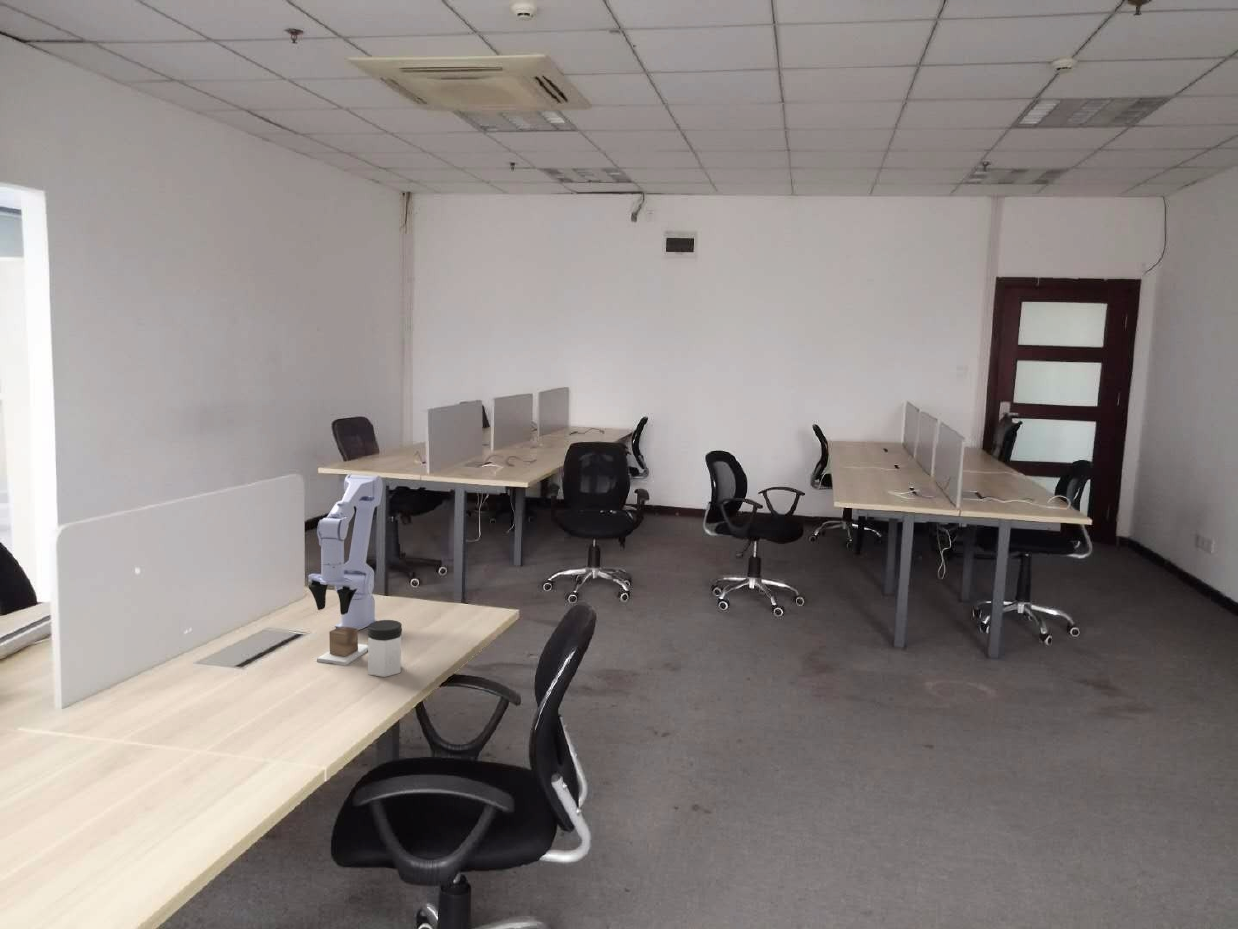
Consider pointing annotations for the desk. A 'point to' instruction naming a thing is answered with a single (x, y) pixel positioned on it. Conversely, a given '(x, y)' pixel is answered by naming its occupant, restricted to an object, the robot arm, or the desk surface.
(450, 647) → the desk surface
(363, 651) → the external hard drive
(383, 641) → the jar
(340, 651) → the walnut block
